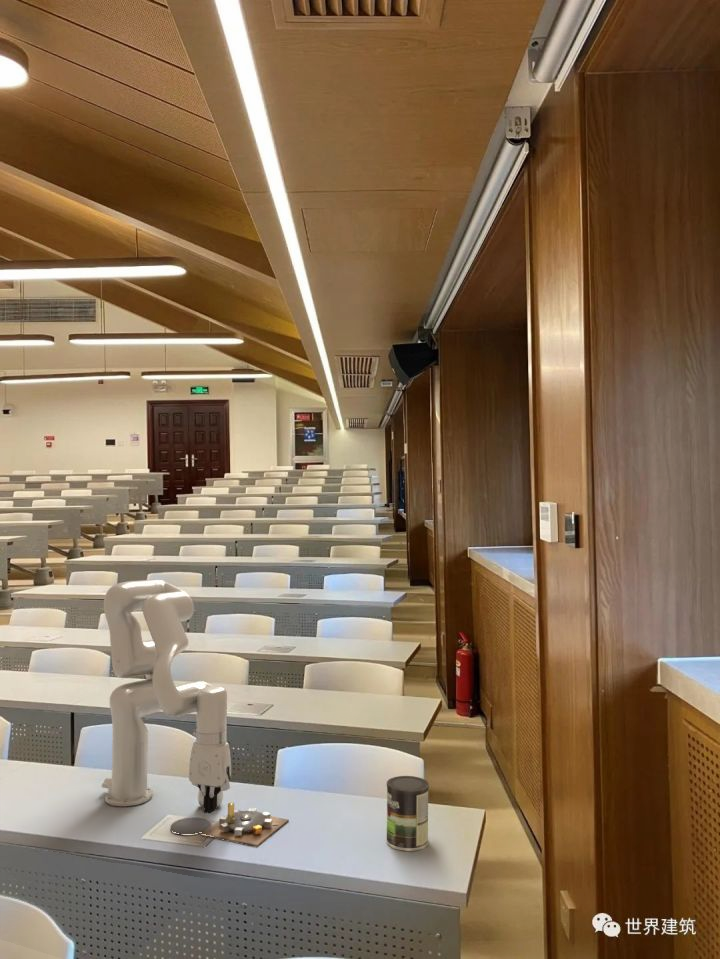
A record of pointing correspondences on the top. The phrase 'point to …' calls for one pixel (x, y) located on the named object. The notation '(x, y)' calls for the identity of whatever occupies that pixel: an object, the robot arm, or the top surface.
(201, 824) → the pad
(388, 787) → the coffee can
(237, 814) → the sprocket
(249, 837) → the base plate
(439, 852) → the top surface
